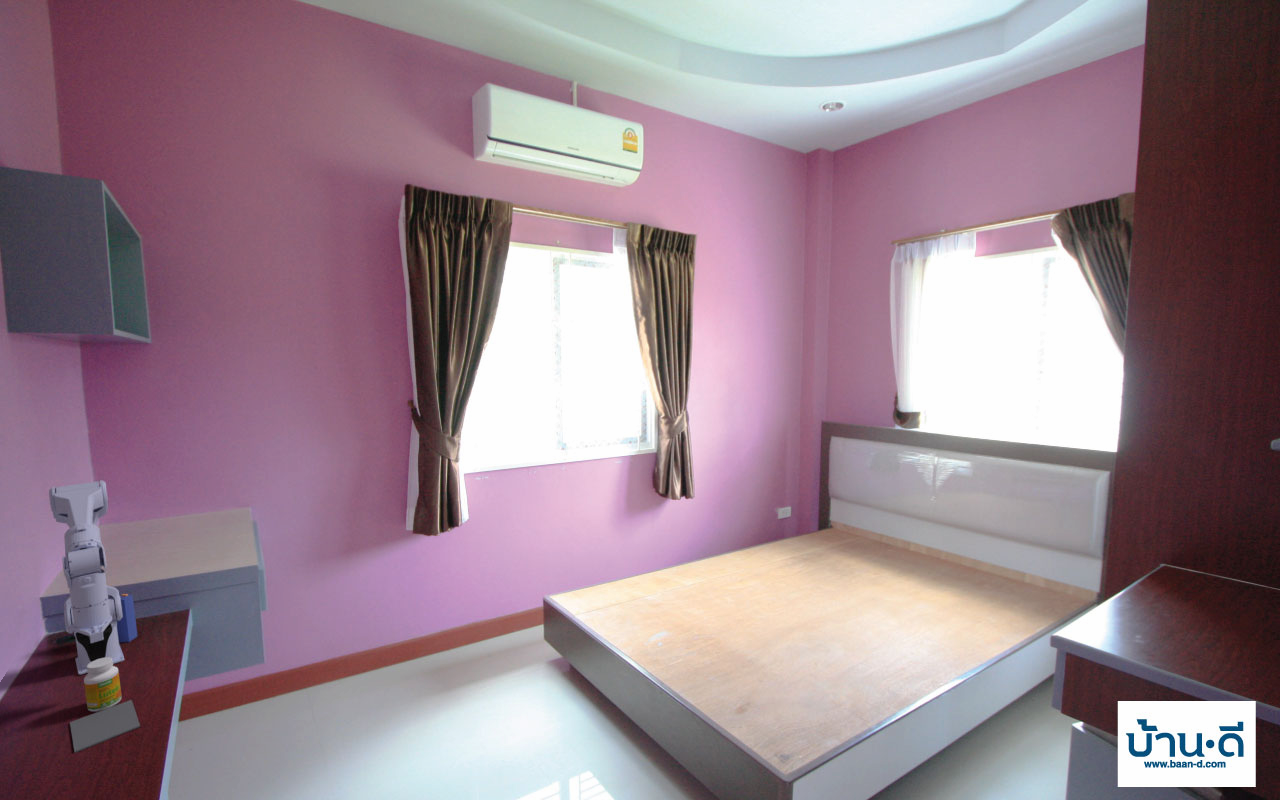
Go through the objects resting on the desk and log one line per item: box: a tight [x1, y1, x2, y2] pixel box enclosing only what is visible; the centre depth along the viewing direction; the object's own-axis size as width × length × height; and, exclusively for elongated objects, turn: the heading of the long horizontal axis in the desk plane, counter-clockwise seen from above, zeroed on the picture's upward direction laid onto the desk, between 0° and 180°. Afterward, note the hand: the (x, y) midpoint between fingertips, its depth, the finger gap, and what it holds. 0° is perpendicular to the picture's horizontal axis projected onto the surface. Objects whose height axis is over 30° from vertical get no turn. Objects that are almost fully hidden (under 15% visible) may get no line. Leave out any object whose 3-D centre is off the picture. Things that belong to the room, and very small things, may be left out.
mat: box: [69, 699, 141, 754], centre depth 115 cm, size 12×10×1 cm
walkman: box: [108, 593, 138, 643], centre depth 145 cm, size 8×3×12 cm, turn 96°
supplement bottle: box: [83, 657, 123, 713], centre depth 121 cm, size 5×5×10 cm
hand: (98, 660), depth 124 cm, fingers closed
